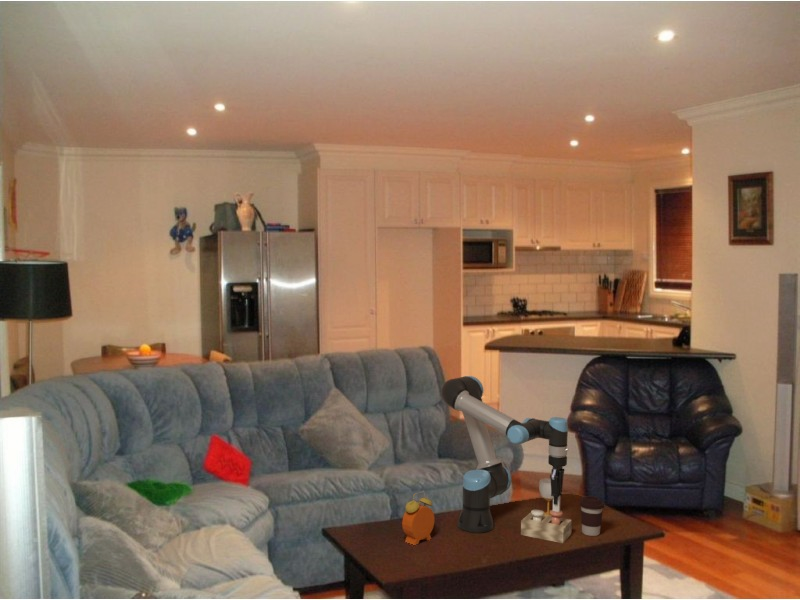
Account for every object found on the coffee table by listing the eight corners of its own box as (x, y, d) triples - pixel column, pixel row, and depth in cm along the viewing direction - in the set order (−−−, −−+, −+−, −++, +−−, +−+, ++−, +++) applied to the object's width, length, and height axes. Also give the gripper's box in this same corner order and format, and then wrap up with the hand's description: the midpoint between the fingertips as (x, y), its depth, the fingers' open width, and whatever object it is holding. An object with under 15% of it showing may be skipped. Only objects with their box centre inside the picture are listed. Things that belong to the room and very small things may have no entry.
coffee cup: (603, 538, 309) (604, 503, 308) (579, 536, 311) (580, 501, 310) (602, 530, 318) (603, 495, 317) (578, 528, 320) (579, 493, 319)
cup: (560, 520, 330) (561, 484, 329) (539, 519, 330) (540, 483, 329) (556, 513, 339) (557, 478, 338) (536, 512, 339) (537, 477, 338)
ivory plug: (529, 531, 313) (529, 512, 313) (533, 527, 318) (533, 508, 317) (540, 533, 311) (541, 514, 310) (544, 529, 315) (545, 510, 315)
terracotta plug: (547, 531, 309) (548, 512, 309) (551, 527, 314) (551, 508, 313) (559, 534, 307) (560, 514, 306) (563, 530, 311) (564, 510, 311)
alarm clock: (423, 534, 310) (424, 487, 309) (434, 538, 305) (435, 490, 304) (401, 542, 301) (401, 494, 299) (411, 547, 296) (412, 497, 295)
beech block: (520, 534, 311) (521, 520, 311) (530, 525, 322) (530, 512, 322) (563, 543, 303) (563, 528, 303) (571, 533, 313) (571, 519, 313)
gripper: (562, 460, 301) (560, 517, 302) (571, 453, 312) (569, 508, 314) (544, 457, 305) (542, 514, 306) (553, 450, 316) (552, 505, 317)
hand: (556, 511), depth 310 cm, fingers closed
